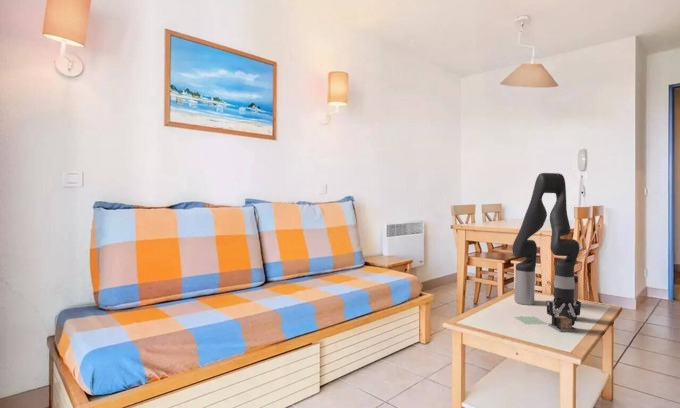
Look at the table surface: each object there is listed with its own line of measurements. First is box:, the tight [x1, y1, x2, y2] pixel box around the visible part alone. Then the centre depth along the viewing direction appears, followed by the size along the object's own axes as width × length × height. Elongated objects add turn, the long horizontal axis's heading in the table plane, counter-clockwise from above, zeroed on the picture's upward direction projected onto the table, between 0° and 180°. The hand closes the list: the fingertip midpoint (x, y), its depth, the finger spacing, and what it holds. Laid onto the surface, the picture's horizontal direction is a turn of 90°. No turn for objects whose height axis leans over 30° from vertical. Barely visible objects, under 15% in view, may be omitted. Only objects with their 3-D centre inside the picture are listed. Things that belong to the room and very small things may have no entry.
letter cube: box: [555, 316, 573, 330], centre depth 161 cm, size 5×4×5 cm
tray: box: [547, 322, 579, 333], centre depth 161 cm, size 8×8×1 cm
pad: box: [513, 316, 548, 325], centre depth 172 cm, size 10×10×1 cm
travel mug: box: [558, 274, 579, 322], centre depth 175 cm, size 8×8×20 cm
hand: (563, 325), depth 161 cm, fingers open, 6 cm apart
